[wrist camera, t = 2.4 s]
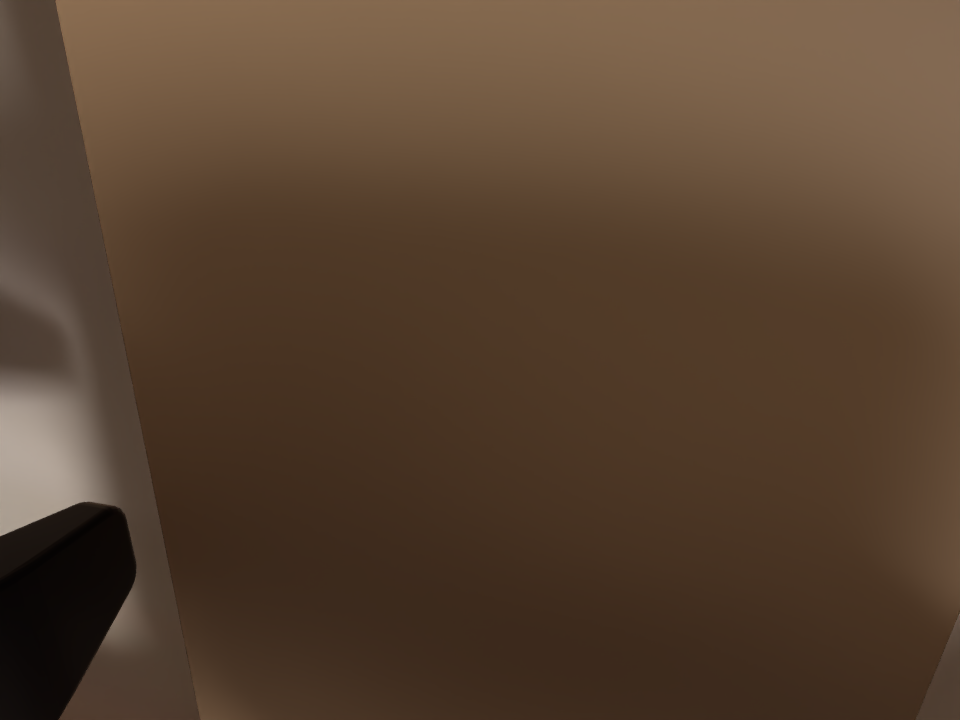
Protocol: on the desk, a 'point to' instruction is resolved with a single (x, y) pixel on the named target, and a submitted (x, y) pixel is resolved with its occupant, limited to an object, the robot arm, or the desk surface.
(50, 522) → the robot arm
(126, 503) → the desk surface
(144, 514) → the desk surface
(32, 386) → the desk surface
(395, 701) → the pallet
